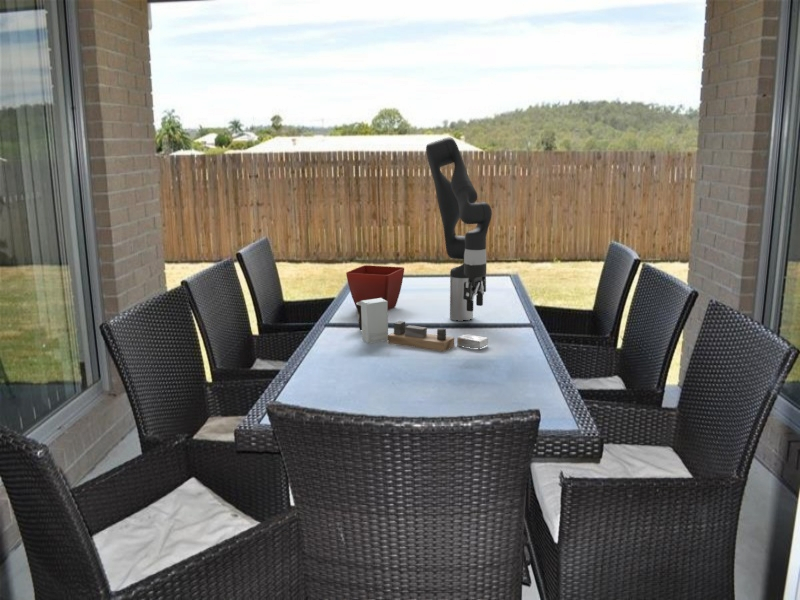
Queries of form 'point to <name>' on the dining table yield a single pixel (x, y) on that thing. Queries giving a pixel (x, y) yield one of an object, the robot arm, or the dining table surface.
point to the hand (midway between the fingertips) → (474, 308)
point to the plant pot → (376, 283)
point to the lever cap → (472, 341)
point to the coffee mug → (359, 314)
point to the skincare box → (374, 320)
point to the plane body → (420, 337)
